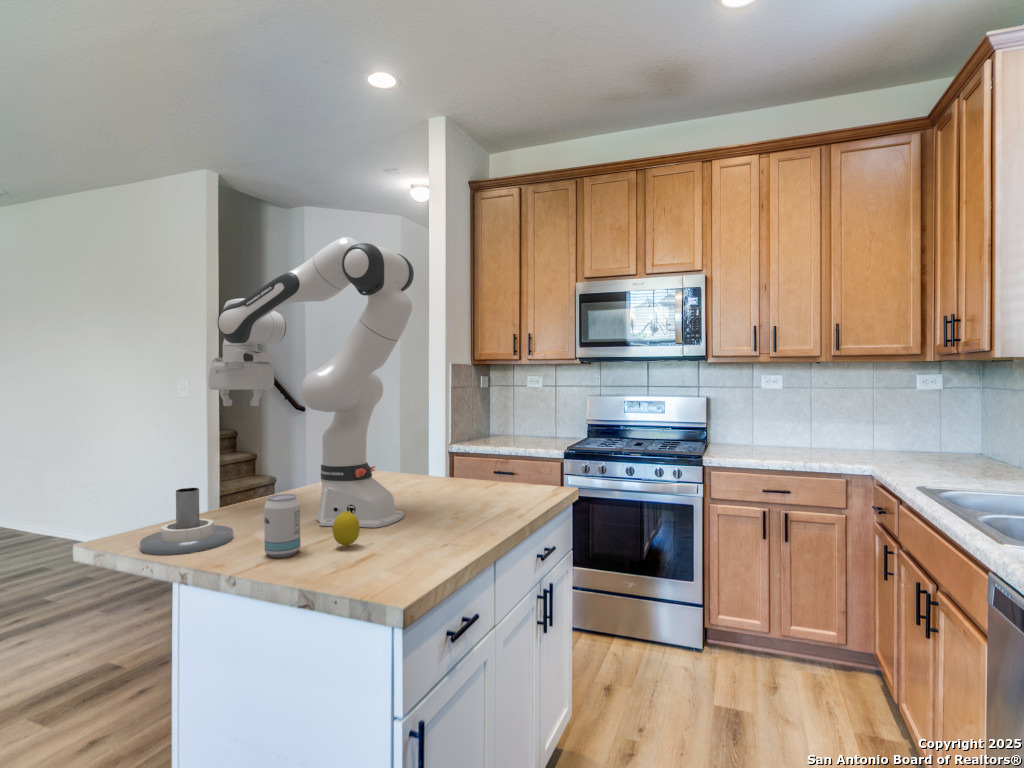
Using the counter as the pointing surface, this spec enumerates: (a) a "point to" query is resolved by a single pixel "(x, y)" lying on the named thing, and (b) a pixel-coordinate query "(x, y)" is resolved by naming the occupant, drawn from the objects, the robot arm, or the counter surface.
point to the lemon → (346, 528)
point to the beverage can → (282, 525)
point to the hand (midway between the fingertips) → (241, 406)
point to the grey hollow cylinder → (187, 508)
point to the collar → (186, 539)
